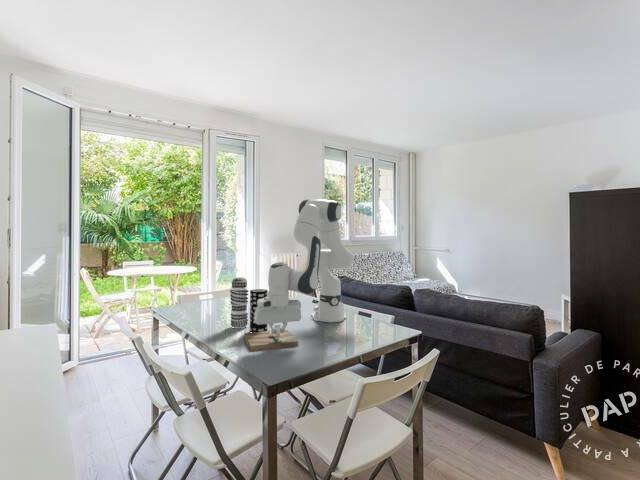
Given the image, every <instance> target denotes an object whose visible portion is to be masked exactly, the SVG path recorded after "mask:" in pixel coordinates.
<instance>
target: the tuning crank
mask: <svg viewBox="0 0 640 480" xmlns="http://www.w3.org/2000/svg"><path fill="white" fill-rule="evenodd" d="M280 328H281V325H280V323H276V324H275V325H274V329H276V333H275V334H272V333H271V332H270V333H269V336H270V337H275V339H280Z"/></svg>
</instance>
